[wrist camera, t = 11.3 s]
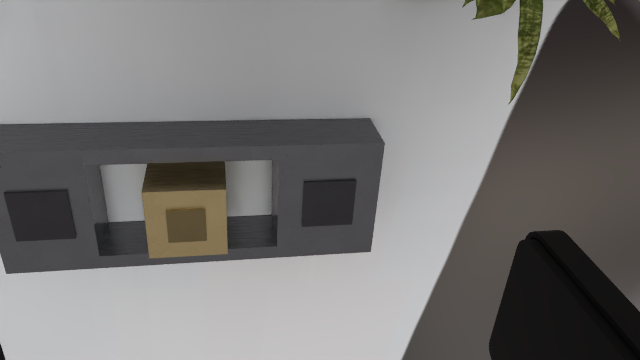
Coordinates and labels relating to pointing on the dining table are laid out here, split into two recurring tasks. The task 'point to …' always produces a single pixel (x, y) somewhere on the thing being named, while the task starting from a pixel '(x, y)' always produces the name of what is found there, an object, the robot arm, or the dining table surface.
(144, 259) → the grey slotted block
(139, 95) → the dining table surface
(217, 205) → the brass block
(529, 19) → the house plant
